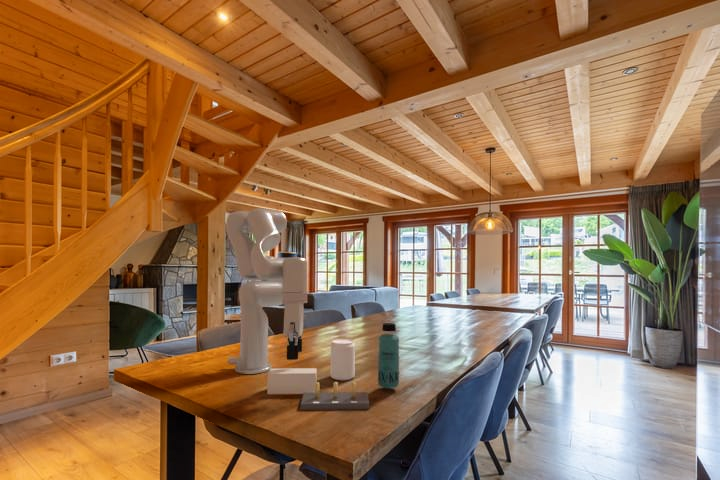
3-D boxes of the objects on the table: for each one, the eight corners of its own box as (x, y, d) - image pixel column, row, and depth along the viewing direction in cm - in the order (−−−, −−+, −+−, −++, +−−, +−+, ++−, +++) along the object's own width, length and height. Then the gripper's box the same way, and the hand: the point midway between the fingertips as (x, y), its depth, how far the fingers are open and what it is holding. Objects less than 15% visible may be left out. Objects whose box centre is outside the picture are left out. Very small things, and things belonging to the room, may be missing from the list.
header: (300, 409, 92) (300, 388, 93) (303, 398, 100) (304, 378, 101) (369, 408, 93) (369, 387, 94) (367, 397, 101) (367, 377, 102)
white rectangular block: (267, 394, 103) (267, 373, 104) (270, 388, 108) (271, 368, 109) (315, 394, 104) (315, 373, 104) (316, 388, 109) (316, 368, 109)
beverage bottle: (376, 386, 111) (376, 321, 112) (397, 385, 111) (397, 321, 112) (379, 394, 104) (379, 325, 105) (401, 393, 105) (401, 325, 106)
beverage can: (357, 375, 121) (358, 339, 122) (349, 382, 114) (349, 344, 114) (336, 372, 124) (336, 337, 125) (326, 379, 116) (327, 342, 117)
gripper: (286, 296, 116) (286, 349, 115) (277, 300, 99) (276, 363, 97) (309, 295, 117) (309, 349, 115) (304, 299, 99) (304, 362, 98)
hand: (294, 355), depth 106 cm, fingers open, 9 cm apart
